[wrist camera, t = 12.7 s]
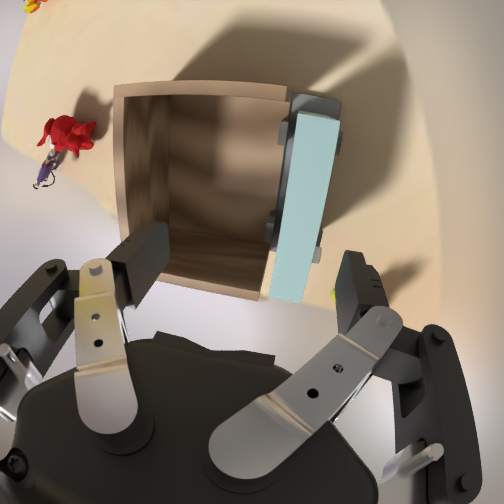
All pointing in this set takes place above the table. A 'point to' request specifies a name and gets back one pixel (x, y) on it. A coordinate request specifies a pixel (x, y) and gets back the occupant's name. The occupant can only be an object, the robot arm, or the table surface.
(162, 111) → the cabinet
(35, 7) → the toy boat
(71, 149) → the figurine
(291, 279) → the door
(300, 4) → the table surface
